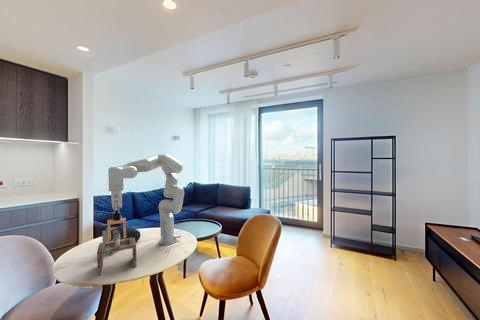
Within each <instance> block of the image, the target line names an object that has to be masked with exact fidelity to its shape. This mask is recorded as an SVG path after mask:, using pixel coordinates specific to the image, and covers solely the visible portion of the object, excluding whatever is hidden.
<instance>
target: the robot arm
mask: <svg viewBox="0 0 480 320" xmlns="http://www.w3.org/2000/svg"><path fill="white" fill-rule="evenodd" d="M160 167H161V171H163V173H164V175H165V184H164V189H163V196H164V197H165V198H168V199H162V200H161V201H159V204H158V211H159V218H160V219H159V221H160V222H159V223H160V228H159V229H160V238H159V240H158V244H159V245H161V246H169V245H173V244H175V243H176V242H177V239H180V238H181V234H175V222H174V221H175V219H174V218H175V217H174V215H177V214H179V213H180V212H181V211H182V207H183V204H184V197H185V190H184V188H183V187H182V186H181V185H178V179H179V178H178V175H177V174H180V173H181V172H182V171H183V165H182V163H181V162H180V161H179V160H177V159H176V158H175V157H173V156H171V155H169V154H156V155H152V156H150V157H147V158H143V159H139V160H136V161H131V162H127V163H125V164H121V165H119V166H110V167H108V173H107V174H108V192H111V193H110V195H111V207H112V209H113V213H114V214H113V213H112V219H114V221H115V220H120V218H121V211H120V209H122V208H123V193H122V191H124V179H133V178H136V177H137V176H138V173H146V172H150V171H153V170H155V169H157V168H160ZM119 212H120V213H119Z"/></svg>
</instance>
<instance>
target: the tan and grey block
mask: <svg viewBox="0 0 480 320" xmlns="http://www.w3.org/2000/svg"><path fill="white" fill-rule="evenodd" d="M119 213H120V214H121V211H120V212H119ZM113 214H114V212H113V213H112V215H113ZM117 224H122V226H123V234H124V238H126V227H127V219H126V217H122V218H121V217H120V220H115V221H114V219H113V218H112V219H108V220H107V222H106V225H107V226H106V227H107V228H106V229H107V234H108V241H109V240H111V227H112V226H111V225H117Z"/></svg>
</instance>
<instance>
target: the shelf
mask: <svg viewBox="0 0 480 320" xmlns="http://www.w3.org/2000/svg"><path fill="white" fill-rule="evenodd" d="M129 242H130V243H129ZM126 243H129V244H126ZM121 244H123V245H121ZM110 245H115V247H112V248H106V249H105V246H110ZM130 249H132V263H133V268H137V242H136V241H135V237H133V238H127V239H121V240H115V241H109V242H103V243H102V242H99V244H98V247H97V251H96V252H97V253H96V257H97V258H96V260H97V261H96V263H97V265H96V266H97V270H96V271H97V276H98V277H100V276H102V272H103V265H104V255H103V254H104V253H110V252H115V251H118V252H120V251H125V250H130Z"/></svg>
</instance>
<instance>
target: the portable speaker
mask: <svg viewBox="0 0 480 320" xmlns="http://www.w3.org/2000/svg"><path fill="white" fill-rule="evenodd" d="M117 227H120V240H121V239H127V238H133V237H135V241H136V243H137V242H139V240H140V238H141V232H140V230H139V229H137V228H133V227H130V226H126V238H124V234H123V225H118V226H117ZM128 243H129V244H130V242H128Z"/></svg>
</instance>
